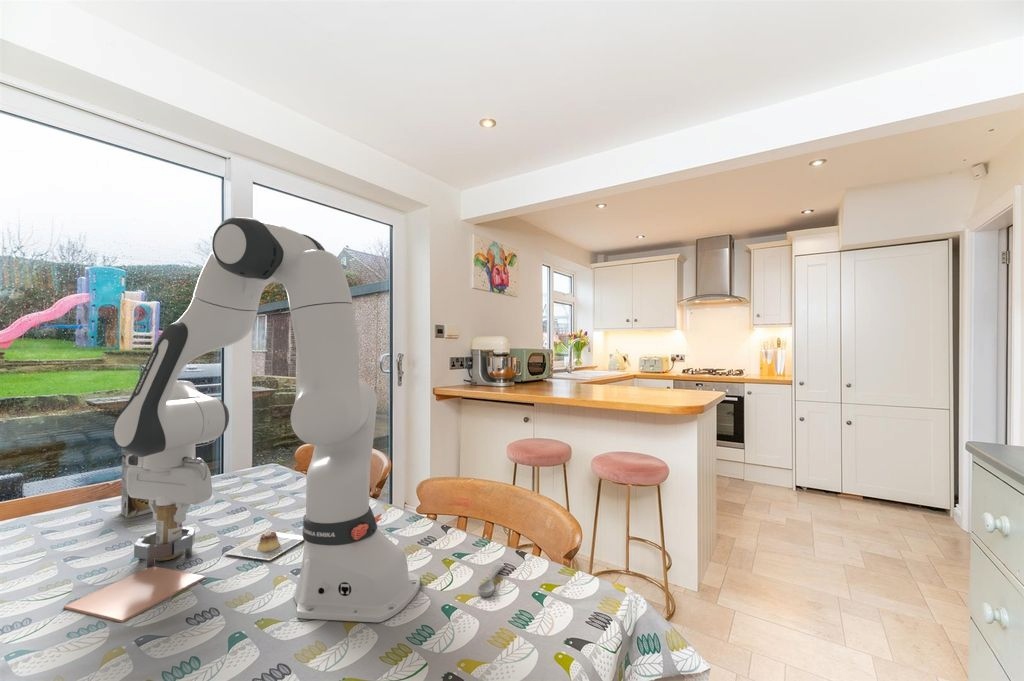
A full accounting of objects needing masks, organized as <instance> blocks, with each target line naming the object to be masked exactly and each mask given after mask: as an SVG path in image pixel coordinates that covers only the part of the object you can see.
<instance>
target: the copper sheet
mask: <svg viewBox="0 0 1024 681" xmlns="http://www.w3.org/2000/svg"><path fill="white" fill-rule="evenodd" d="M204 579H206V575H201V574H197V573H196V574H195V573H192V572H191V573H190V572H186V571H185V572H184V571H180V570H175V569H170V568H163V567H159V566H155V565H154V566H153V567H150V568H147V569H146V568H144V569H141V571H138V572H136V573H133V574H131V575H129V576H127V577H125V578H122V579H120V580H118V581H115V582H114V583H110V584H109V585H107V586H105V587H102V588H101V589H98V590H96V591H93V592H92V593H89V594H87V595H85V596H83V597H81V598H78V599H76V600H74V601H72V602H69V603H67V604H65V605H63V609H66V610H69V611H74V612H78V613H80V614H81V613H82V614H86V615H90V616H93V617H98V618H102V619H106V620H110V621H115V622H119V623H124V622H126V621H128V620H129V619H131V618H134V617H136V616H137V615H139V614H141V613H143V612H145V611H146V610H149V609H150V608H152V607H154V606H156V605H158V604H160V603H161V602H163V601H165V600H167V599H170V598H172V596H175V595H176V594H178V593H180V592H182V591H184V590H185V589H187V588H189V587H191V586H194V585H196V584H197V583H199V582H201V581H202V580H204Z"/></svg>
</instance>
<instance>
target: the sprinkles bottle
mask: <svg viewBox="0 0 1024 681" xmlns="http://www.w3.org/2000/svg"><path fill="white" fill-rule="evenodd" d="M156 505H157V519H156V520H155V531H156V544H161V543H167V542H172V541H174V540H177V539H179V538H182V526H183V522H181V523H174V522H172V520H173V518H172V515H173V514H176V511H177V509H178V507H176V503H174V502H167V501H166V499H165V497H161V496H157V497H156ZM181 554H183V551H182V552H179V553H177V554H175V555H172V556H167V557H161V558H156V559H155V560H156V561H159V562H161V561H168V560H172V559H174V558H177V557H179V556H181Z"/></svg>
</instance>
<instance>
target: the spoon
mask: <svg viewBox="0 0 1024 681" xmlns="http://www.w3.org/2000/svg"><path fill="white" fill-rule="evenodd" d="M504 568H505V566H504V565H503V564H495V565H494V566H493V569H492V570H491V572H490V574H489V576H488V578H487V580H485V582H483V583H481V584H479V586H478V589H477V591H478V594H479V595H480V597H484V598H488V597H490V596H492V595H493V594H494V592H495V588H496V587H495V584H494V580H495V578H496V577H497V575H498V574H499V573H500V572H501V571H503V570H504Z"/></svg>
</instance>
